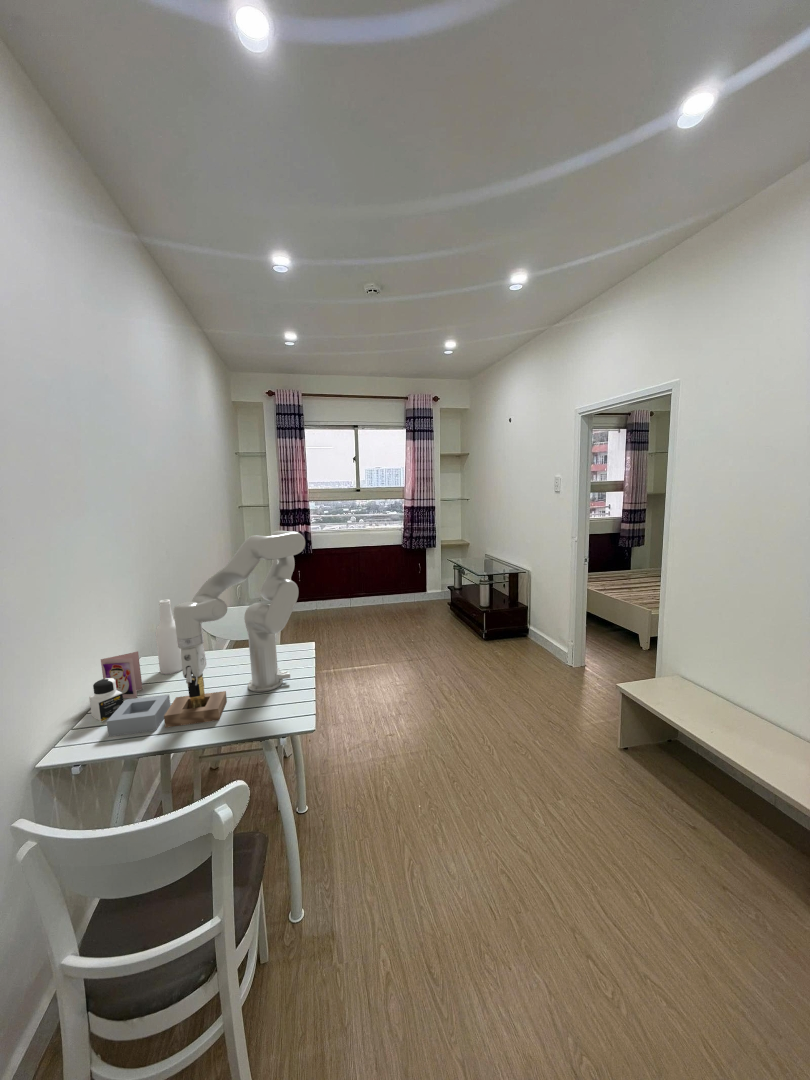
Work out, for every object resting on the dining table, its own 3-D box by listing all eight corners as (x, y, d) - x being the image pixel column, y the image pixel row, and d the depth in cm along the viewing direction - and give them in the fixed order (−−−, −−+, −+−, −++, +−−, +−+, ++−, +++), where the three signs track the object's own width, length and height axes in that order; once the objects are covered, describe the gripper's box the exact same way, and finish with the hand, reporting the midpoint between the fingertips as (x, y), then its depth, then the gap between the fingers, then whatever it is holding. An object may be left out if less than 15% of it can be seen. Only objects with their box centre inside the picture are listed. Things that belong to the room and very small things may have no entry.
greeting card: (104, 699, 151) (98, 660, 149) (118, 689, 158) (113, 652, 156) (135, 698, 151) (130, 659, 149) (148, 688, 158) (143, 651, 156)
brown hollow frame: (226, 701, 147) (225, 691, 146) (219, 720, 135) (218, 708, 134) (177, 708, 143) (176, 697, 143) (165, 727, 132) (163, 715, 131)
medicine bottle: (101, 722, 136) (96, 687, 134) (91, 716, 140) (86, 682, 138) (125, 712, 142) (120, 678, 140) (115, 706, 146) (110, 674, 144)
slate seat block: (170, 708, 144) (169, 694, 143) (156, 730, 131) (154, 715, 130) (127, 713, 141) (125, 699, 140) (108, 736, 128) (106, 721, 127)
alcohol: (173, 675, 169) (165, 603, 165) (154, 674, 171) (146, 603, 167) (188, 666, 177) (181, 597, 173) (171, 665, 179) (163, 597, 175)
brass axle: (207, 702, 142) (204, 675, 140) (204, 709, 138) (200, 681, 136) (193, 704, 141) (190, 676, 140) (189, 711, 137) (186, 683, 135)
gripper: (195, 648, 128) (202, 703, 131) (209, 630, 145) (214, 679, 147) (169, 651, 127) (176, 707, 130) (185, 632, 143) (192, 682, 146)
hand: (196, 692), depth 139 cm, fingers closed on brass axle, 4 cm apart
